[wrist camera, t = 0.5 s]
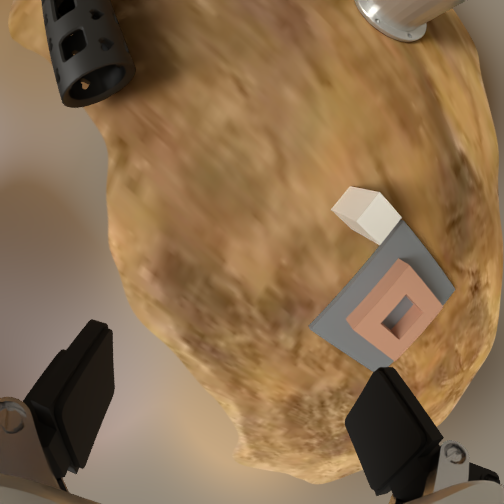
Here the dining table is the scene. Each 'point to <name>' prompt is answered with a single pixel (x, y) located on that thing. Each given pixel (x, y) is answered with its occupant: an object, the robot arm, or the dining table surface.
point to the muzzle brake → (86, 50)
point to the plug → (367, 213)
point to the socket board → (367, 282)
